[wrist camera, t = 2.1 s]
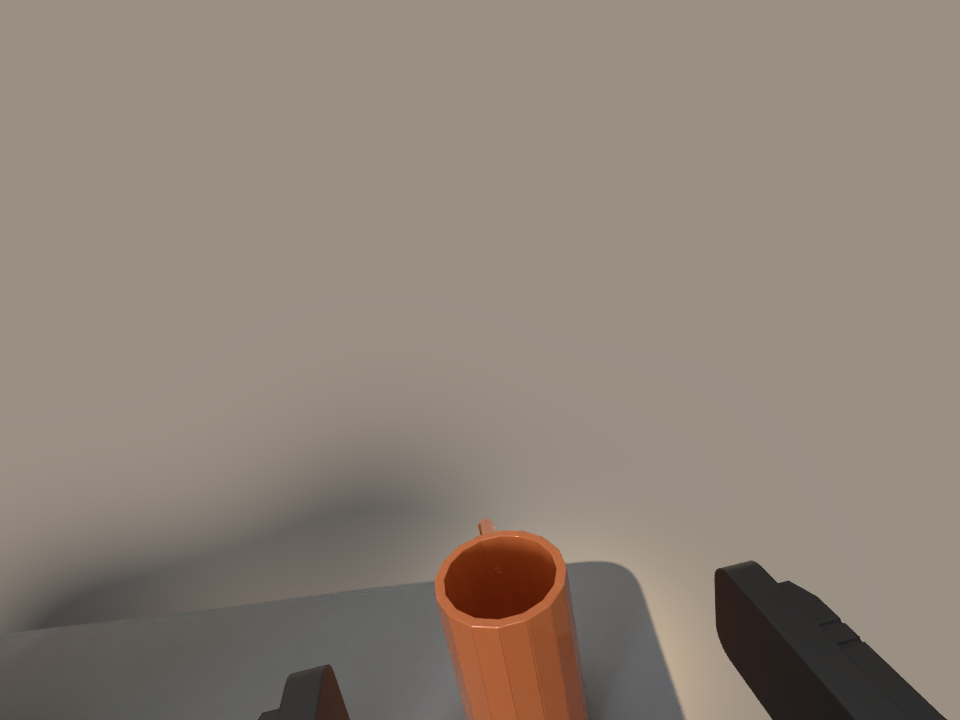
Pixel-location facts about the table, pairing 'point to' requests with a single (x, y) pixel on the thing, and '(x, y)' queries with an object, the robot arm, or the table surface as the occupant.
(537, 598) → the mug
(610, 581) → the table surface
